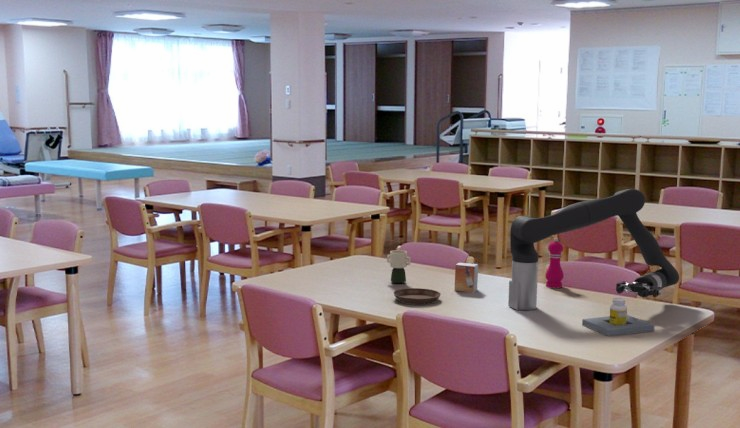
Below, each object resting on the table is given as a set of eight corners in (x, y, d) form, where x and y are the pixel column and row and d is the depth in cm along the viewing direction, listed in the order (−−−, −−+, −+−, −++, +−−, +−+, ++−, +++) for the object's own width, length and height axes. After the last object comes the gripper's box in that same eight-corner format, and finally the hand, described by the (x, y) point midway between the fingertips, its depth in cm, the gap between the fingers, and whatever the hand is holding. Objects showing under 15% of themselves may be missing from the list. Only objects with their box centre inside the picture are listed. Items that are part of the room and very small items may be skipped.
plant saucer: (409, 293, 320) (410, 285, 319) (449, 299, 309) (449, 291, 309) (384, 301, 305) (384, 293, 305) (424, 309, 295) (424, 300, 295)
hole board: (608, 336, 262) (609, 330, 262) (582, 324, 275) (582, 319, 275) (653, 330, 269) (654, 324, 269) (625, 320, 282) (626, 314, 281)
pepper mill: (563, 288, 328) (565, 239, 325) (545, 287, 329) (546, 238, 326) (562, 285, 335) (565, 236, 332) (544, 284, 336) (546, 235, 333)
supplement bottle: (606, 325, 275) (608, 297, 273) (622, 325, 275) (624, 297, 274) (612, 330, 269) (614, 301, 268) (628, 330, 270) (630, 301, 268)
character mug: (414, 282, 336) (414, 251, 334) (405, 286, 330) (406, 254, 328) (391, 279, 342) (391, 248, 340) (382, 282, 336) (382, 251, 334)
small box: (454, 290, 323) (454, 264, 321) (458, 287, 328) (458, 262, 326) (473, 292, 320) (474, 266, 318) (477, 289, 325) (478, 263, 323)
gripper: (629, 271, 296) (611, 278, 283) (668, 277, 287) (652, 285, 275) (627, 292, 297) (609, 299, 284) (667, 298, 288) (650, 306, 276)
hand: (630, 292), depth 279 cm, fingers open, 8 cm apart
